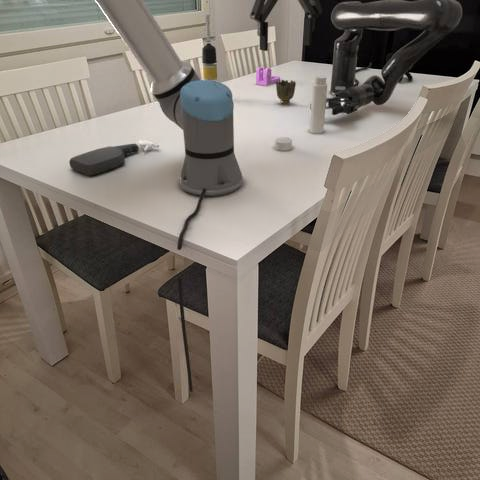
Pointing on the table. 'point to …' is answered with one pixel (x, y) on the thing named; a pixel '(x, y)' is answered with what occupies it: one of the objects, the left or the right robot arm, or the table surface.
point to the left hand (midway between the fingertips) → (285, 47)
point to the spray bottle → (106, 157)
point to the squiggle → (405, 73)
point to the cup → (285, 91)
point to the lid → (283, 144)
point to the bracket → (265, 77)
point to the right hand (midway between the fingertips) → (321, 109)
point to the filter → (209, 57)
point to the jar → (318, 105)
